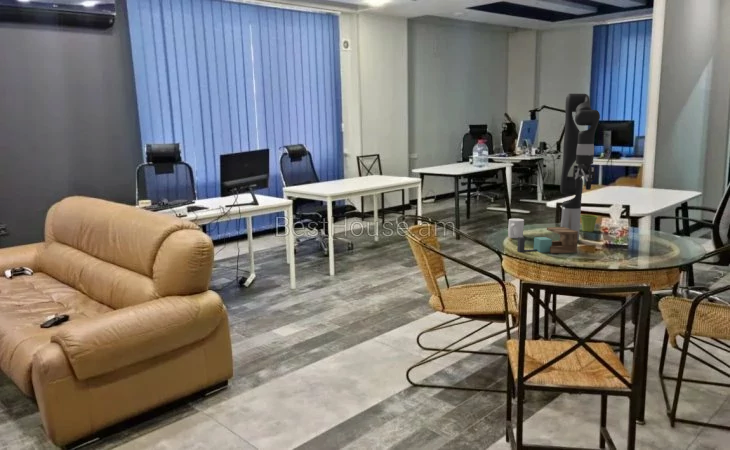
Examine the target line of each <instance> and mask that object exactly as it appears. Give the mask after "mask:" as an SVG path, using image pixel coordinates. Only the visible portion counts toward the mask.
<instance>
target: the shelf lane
mask: <svg viewBox="0 0 730 450" xmlns="http://www.w3.org/2000/svg"><path fill="white" fill-rule="evenodd" d="M546 231H549V232H552V233H554V234H557V235H559V240H552V246H550V252H549V253H550V254H566V253H577V252H578V241H577V237H578V231H575V230H572V229H569V228H566V227H560V226H553V227H550V226H549V227H546Z"/></svg>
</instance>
